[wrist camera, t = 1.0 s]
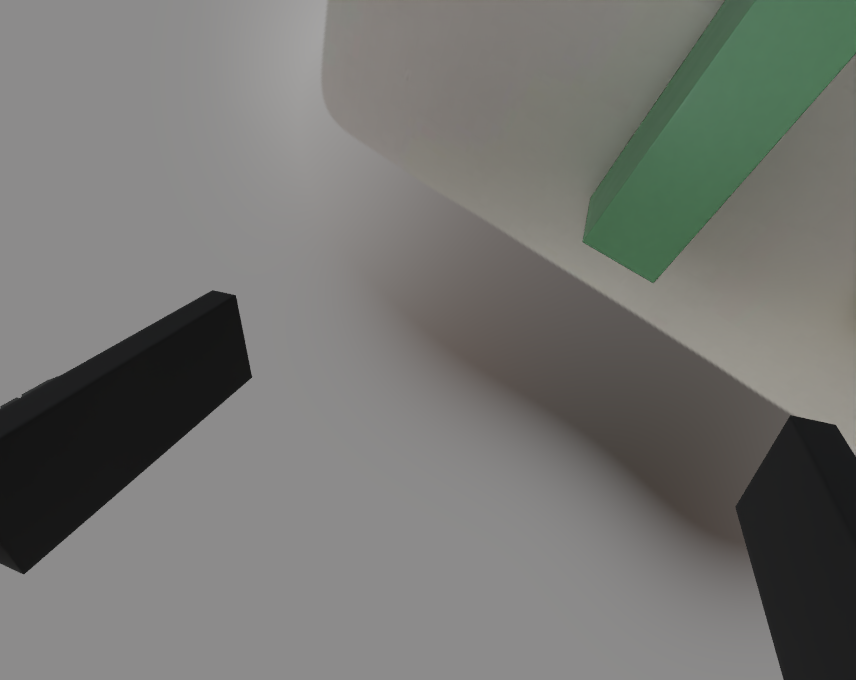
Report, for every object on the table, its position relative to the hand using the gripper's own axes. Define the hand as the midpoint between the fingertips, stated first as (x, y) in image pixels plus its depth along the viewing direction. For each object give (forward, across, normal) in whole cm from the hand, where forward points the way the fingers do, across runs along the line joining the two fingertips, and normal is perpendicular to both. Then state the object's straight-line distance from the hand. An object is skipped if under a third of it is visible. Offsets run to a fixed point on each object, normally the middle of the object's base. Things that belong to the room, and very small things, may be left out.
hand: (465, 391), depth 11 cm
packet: (+23, +7, +5) cm, 25 cm away
